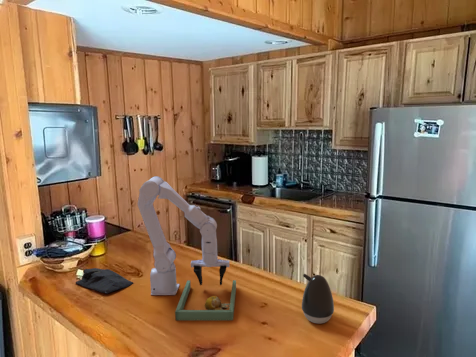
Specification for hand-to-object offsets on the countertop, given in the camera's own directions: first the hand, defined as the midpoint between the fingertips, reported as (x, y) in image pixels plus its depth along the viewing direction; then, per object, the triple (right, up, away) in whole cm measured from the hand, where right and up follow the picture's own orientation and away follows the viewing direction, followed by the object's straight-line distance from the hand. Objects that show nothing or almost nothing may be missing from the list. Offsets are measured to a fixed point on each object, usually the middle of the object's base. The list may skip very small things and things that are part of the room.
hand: (211, 284), depth 135 cm
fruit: (+3, -5, -13) cm, 14 cm away
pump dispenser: (+36, -6, -20) cm, 42 cm away
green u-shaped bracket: (0, -4, -9) cm, 10 cm away
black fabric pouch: (-44, -3, +8) cm, 45 cm away
